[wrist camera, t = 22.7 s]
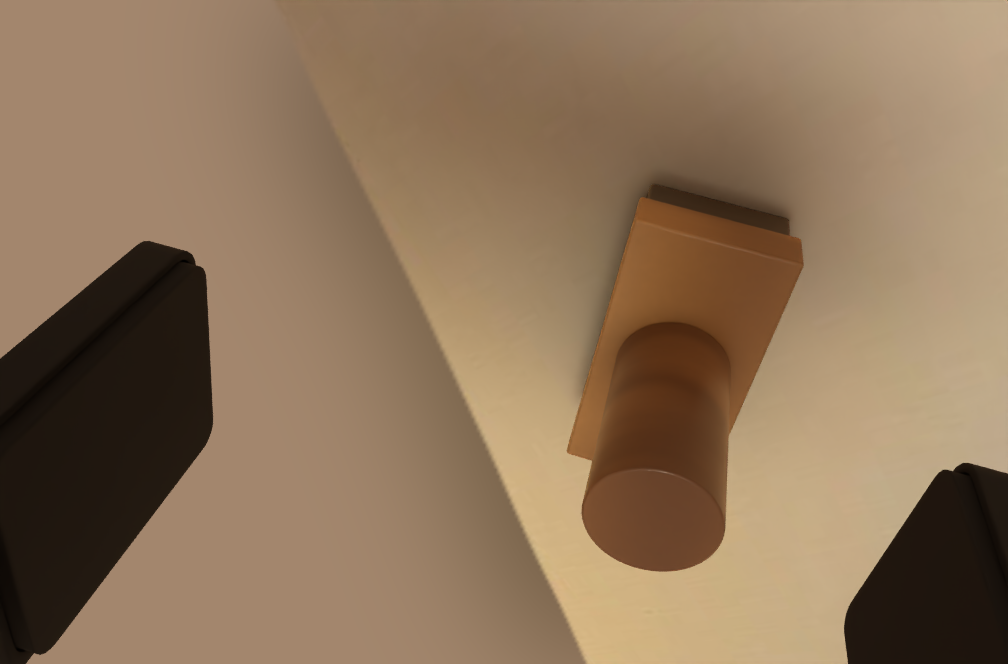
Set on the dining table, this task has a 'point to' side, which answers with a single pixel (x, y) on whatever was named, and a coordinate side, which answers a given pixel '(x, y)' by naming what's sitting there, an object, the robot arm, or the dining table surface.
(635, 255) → the stamp
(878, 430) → the dining table surface
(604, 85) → the dining table surface
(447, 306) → the dining table surface
